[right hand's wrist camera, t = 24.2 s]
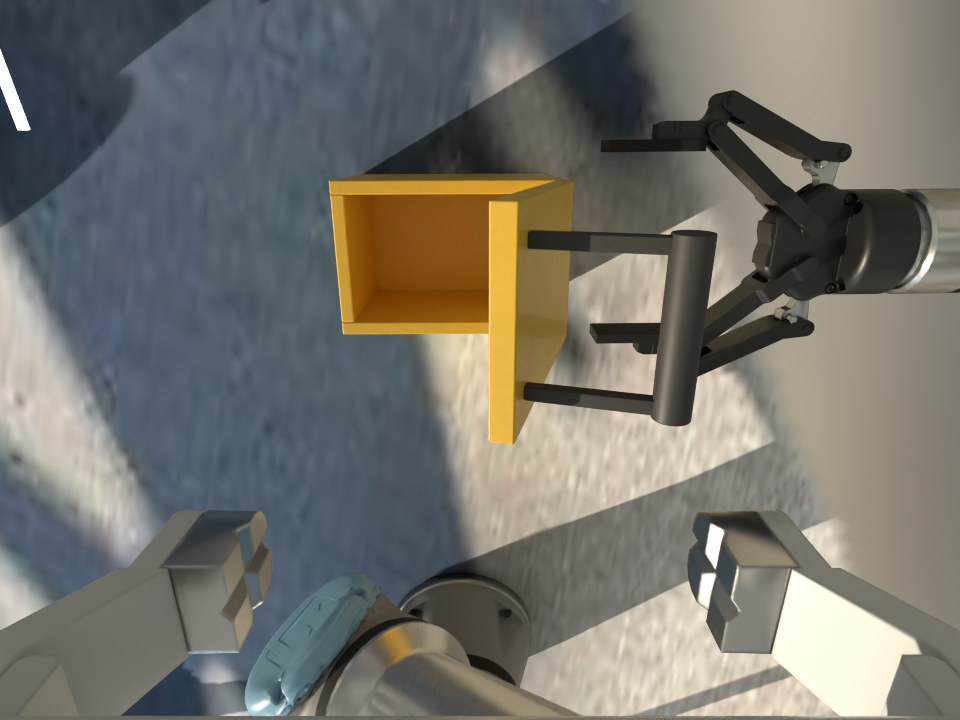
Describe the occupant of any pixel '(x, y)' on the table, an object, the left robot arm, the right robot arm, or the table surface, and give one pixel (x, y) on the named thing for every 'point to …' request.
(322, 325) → the table surface
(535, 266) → the lid
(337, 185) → the chest
